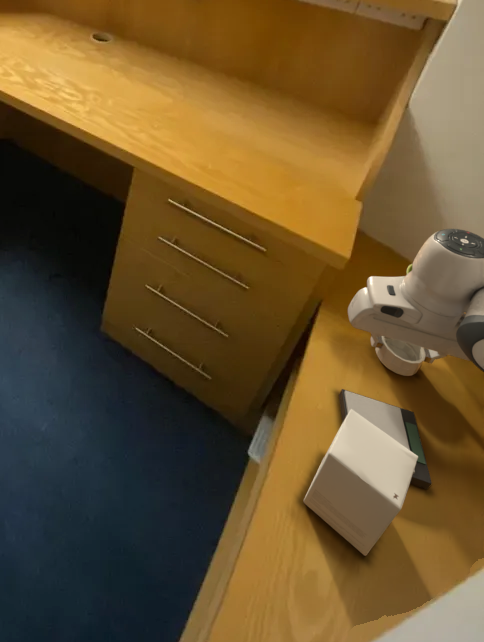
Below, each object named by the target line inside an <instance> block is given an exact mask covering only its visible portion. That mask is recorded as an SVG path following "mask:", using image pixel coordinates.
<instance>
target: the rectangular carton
mask: <svg viewBox="0 0 484 642" xmlns="http://www.w3.org/2000/svg"><path fill="white" fill-rule="evenodd" d="M417 459H418V456H417V455H416V454H414V453H413V452H411V451H410V450H408V449H407V448H406V447H404V446H403V445H401V444H400V443H399V442H397V441H396V440H394V439H393V438H392V437H390V436H389V435H387V434H386V433H385V432H383V431H382V430H380V429H379V428H378V427H376V426H375V425H373V424H372V423H370V422H369V421H368V420H366V419H365V418H364V417H362V416H361V415H359V414H358V413H357V412H355V411H354V410H352V409H351V410H350V411H349V413H348V414H347V416H346V418H345V420H344V421H343V422H342V423H341V425H340V427H339V428H338V430H337V432H336V434H335V436H334V438H333V439H332V441H331V443H330V446H329V447H328V449H327V451H326V453H325V455H324V456H323V458H322V460H321V461H320V462H321V463H320V465H319V467H318V469H317V470H316V473H315V474H314V477H313V479H312V481H311V483H310V485H309V488H308V490H307V492H306V494H305V496H304V498H303V504H304V505H306V506H307V507H308V508H309V509H310V510H311V511H312V512H313V513H314V514H316V515H317V516H318V517H320V519H321V520H323V521H324V522H325V523H326V524H327V525H328V526H330V527H331V528H332V529H333V530H334V531H335V532H336V533H338V534H339V535H340V536H341V537H342V538H344V539H345V540H346V541H347V543H349V544H350V545H352V546H353V547H354V548H355V549H356V550H357V551H358V552H359V553H361V554H362V555H363V556H365V557H366V556H367V555H368V554H369V553H370V551H371V550H372V549H373V548H374V546H375V545H376V543H377V542H378V541H379V539H381V537H382V535H383V533H385V531H386V530H387V529H388V527H389V526H390V525H391V523H392V522H393V521H394V519H395V518H396V517H397V515H398V514H399V513H400V511H402V508H403V506H404V503H405V500H406V497H407V494H408V492H409V487H410V485H411V484H410V481H411V478H412V475H413V472H414V469H415V465H416V462H417Z"/></svg>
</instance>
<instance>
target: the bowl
mask: <svg viewBox="0 0 484 642" xmlns="http://www.w3.org/2000/svg"><path fill="white" fill-rule="evenodd" d="M382 341H383V346H382V348H381V349H380V348H377V347H374V349H375V353H376V356H377V358H378V359H379V361H380V362H381V363H382V365H384V366H385V367H386V368H387V369H388V370H389V371H391V372H393V373H394V374H397V375H400V376H404V377H412V376H413V375H415V374H417V372H418V371H419V370H420V368H421V366H422V365H423V363H424V360H425V356H426V354H425V350H424V348H423V347H419V346H416V345H412V344H409V343H405V342H402V341H399V340H395V339H392V338H388V337H385V336H382Z"/></svg>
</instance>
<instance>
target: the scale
mask: <svg viewBox="0 0 484 642" xmlns="http://www.w3.org/2000/svg"><path fill="white" fill-rule="evenodd" d="M338 401H339V406H340V407H339V408H340V413H341V421H342V423H343V421H344V420H345V418H346V416H347V414H348V413H349V411H350V410H351V409H352V410H354V411H355V412H357V413H358V414H359V415H361V416H362V417H364V418H365V419H366V420H368V421H369V422H370V423H372V424H373V425H375V426H376V427H378V428H379V429H380V430H382V431H383V432H385V433H386V434H387V435H389V436H390V437H392V438H393V439H394V440H396V441H397V442H399V443H400V444H401V445H403V446H404V447H406V448H407V449H408V450H410V451H411V452H413V453H414V454H416V455H417V456H418V459H417V462H416V465H415V469H414V472H413V475H412V478H411V481H410V485H414V486H415V487H418V488H421V489H424V490H429V488H430V487H431V486H432V484H433V483H432V479H431V474H430V471H429V466H428V463H427V459H426V455H425V450H424V446H423V444H422V439H421V434H420V431H419V427H418V424H417V419H416V416H415V412H414V411H412V410H409V409H405V408H403V407H401V406H400V407H399V406H397V405H393V404H390V403H388V402H385V401H381V400H378V399H375V398H372V397H369V396H366V395H362V394H359V393H356V392H353V391H350V390H347V389H344V388H341V390H340V391H339V393H338Z"/></svg>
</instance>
